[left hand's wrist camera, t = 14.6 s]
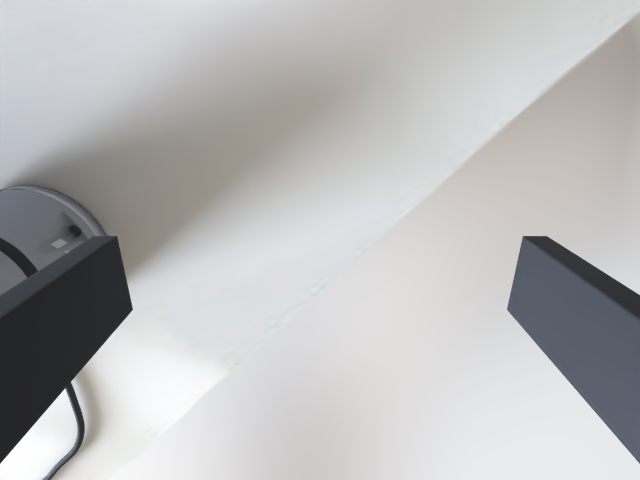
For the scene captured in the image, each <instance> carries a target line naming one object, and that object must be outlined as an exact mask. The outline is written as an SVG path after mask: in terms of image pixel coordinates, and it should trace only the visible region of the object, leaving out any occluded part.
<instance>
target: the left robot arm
mask: <svg viewBox="0 0 640 480" xmlns="http://www.w3.org/2000/svg"><path fill="white" fill-rule="evenodd" d="M132 310H133V308H132V303H131V299H130V294H129V290H128V285H127V280H126V276H125V271H124V266H123V262H122V257H121V253H120V248H119V243H118V239H117V236H106V235H105V233H104V231H103V230H102V228H101V227H100V225H99V224H98V222H97V221H96V220H95V219H94V218H93V216H92V215H91V214H90V213H89V212H88V211H87V210H86V209H84V208H83V207H82V206H81V205H79V204H78V203H77V202H75V201H74V200H72V199H70V198H69V197H67V196H65V195H63V194H61V193H59V192H56V191H53V190H50V189H47V188H43V187H38V186H15V187H10V188H7V189H3V190H0V463H1V462H2V461H3V460H4V459H5V457H6V456H7V455H8V454H9V453H10V452H11V450H12V449H13V448H14V447H15V446H16V445H17V443H18V442H19V441H20V440H21V439H22V438H23V437H24V435H25V434H26V433H27V432H28V431H29V430H30V428H31V427H32V426H33V425H34V424H35V423H36V421H37V420H38V419H39V418H40V417H41V416H42V414H43V413H44V412H45V411H46V410H47V409H48V407H49V406H50V405H51V404H52V403H53V402H54V401H55V399H56V398H57V397H58V396H59V395H60V394H61V392H62V391H63V390H64V389H66V391H67V394H68V397H69V399H70V402H71V405H72V408H73V411H74V414H75V417H76V421H77V426H78V434H77V439H76V443H75V445H74V447H73V448H72V450H71V451H70V452H69V453H68V454H67V455H66V456H65V457H64V458H62V459H61V460H60V461H59V462H58V463H57V464H56V465H55V466H54V467H53V469H52V470H51V471H50V472H49V474H48V475H47V476H46V477H45V478H44V479H43V480H51V478H52V477H53V476H54V475H55V474H56V472H57V471H58V470H59V469H60V468H61V467H62V466H63V465H64V464H65V463H66V462H67V461H69V460H70V459H71V458H72V457H73V456H74V455H75V454H76V452H77V451H78V449H79V448H80V446H81V444H82V441H83V438H84V430H85V428H84V420H83V416H82V412H81V409H80V406H79V403H78V400H77V397H76V394H75V391H74V389H73V386H72V384H71V381H72V380H73V378H74V377H75V376H76V375H77V374H78V373H79V372H80V370H81V369H82V368H83V367H84V366H85V365H86V363H87V362H88V361H89V360H90V359H91V358H92V356H93V355H94V354H95V353H96V352H97V351H98V349H99V348H100V347H101V346H102V345H103V344H104V343H105V341H106V340H107V339H108V338H109V337H110V336H111V334H112V333H113V332H114V331H115V330H116V329H117V327H118V326H119V325H120V324H121V323H122V322H123V320H124V319H125V318H126V317H127V316H128V315H129V313H130V312H131V311H132ZM507 310H508V311H509V312H510V313H511V315H512V316H513V317H514V318H515V319H516V320H517V322H518V323H519V324H520V325H521V326H522V327H523V329H524V330H525V331H526V332H527V333H528V334H529V336H530V337H531V338H532V339H533V340H534V341H535V343H536V344H537V345H538V346H539V347H540V348H541V349H542V351H543V352H544V353H545V354H546V355H547V356H548V358H549V359H550V360H551V361H552V362H553V363H554V365H555V366H556V367H557V368H558V369H559V370H560V371H561V373H562V374H563V375H564V376H565V377H566V378H567V380H568V381H569V382H570V383H571V384H572V385H573V386H574V388H575V389H576V390H577V391H578V392H579V394H580V395H581V396H582V397H583V398H584V399H585V401H586V402H587V403H588V404H589V405H590V406H591V407H592V409H593V410H594V411H595V412H596V413H597V414H598V416H599V417H600V418H601V419H602V420H603V421H604V423H605V424H606V425H607V426H608V427H609V428H610V429H611V431H612V432H613V433H614V434H615V435H616V436H617V438H618V439H619V440H620V441H621V442H622V443H623V445H624V446H625V447H626V448H627V449H628V450H629V451H630V453H631V454H632V455H633V456H634V457H635V459H636V460H637V461H638V462H639V463H640V295H639V294H637V293H635V292H634V291H632V290H631V289H629V288H627V287H626V286H624V285H623V284H621V283H620V282H618V281H616V280H615V279H613V278H612V277H610V276H609V275H607V274H605V273H604V272H602V271H601V270H599V269H597V268H596V267H594V266H593V265H591V264H590V263H588V262H587V261H585V260H583V259H582V258H580V257H579V256H577V255H576V254H574V253H572V252H571V251H569V250H568V249H566V248H564V247H563V246H561V245H560V244H558V243H557V242H555V241H553V240H552V239H550V238H549V237H547V236H523V239H522V243H521V248H520V253H519V257H518V262H517V266H516V271H515V276H514V280H513V285H512V290H511V294H510V299H509V304H508V308H507Z"/></svg>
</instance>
